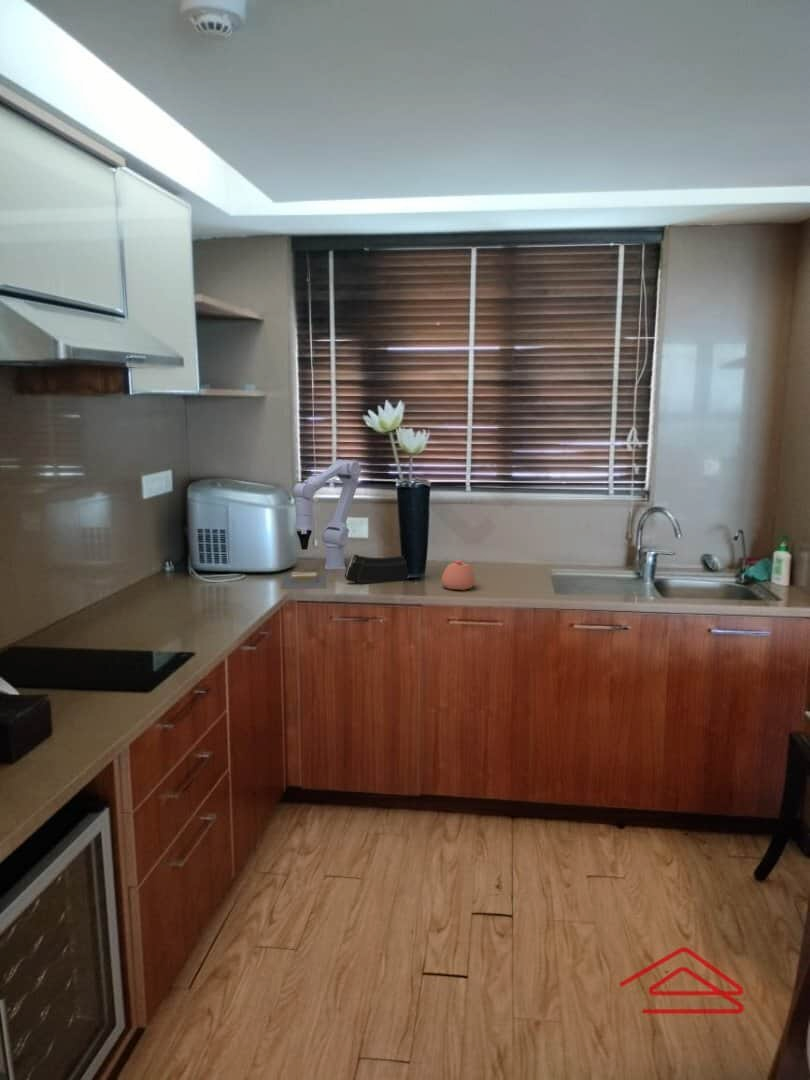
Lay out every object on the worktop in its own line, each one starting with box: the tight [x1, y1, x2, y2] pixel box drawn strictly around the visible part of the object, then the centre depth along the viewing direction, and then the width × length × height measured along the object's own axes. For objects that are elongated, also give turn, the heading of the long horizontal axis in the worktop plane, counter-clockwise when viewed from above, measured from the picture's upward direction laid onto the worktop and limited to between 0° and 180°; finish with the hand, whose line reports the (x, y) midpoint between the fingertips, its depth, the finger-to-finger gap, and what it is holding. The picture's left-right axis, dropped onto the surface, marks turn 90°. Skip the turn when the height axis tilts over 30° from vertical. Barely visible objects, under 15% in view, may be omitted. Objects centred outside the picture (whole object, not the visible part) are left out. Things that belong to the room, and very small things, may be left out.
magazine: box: [344, 553, 408, 584], centre depth 279 cm, size 17×3×30 cm
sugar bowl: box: [441, 559, 476, 591], centre depth 271 cm, size 12×14×10 cm
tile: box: [291, 571, 317, 583], centre depth 278 cm, size 2×9×7 cm
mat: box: [280, 574, 327, 590], centre depth 277 cm, size 22×16×1 cm
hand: (304, 549), depth 288 cm, fingers closed
